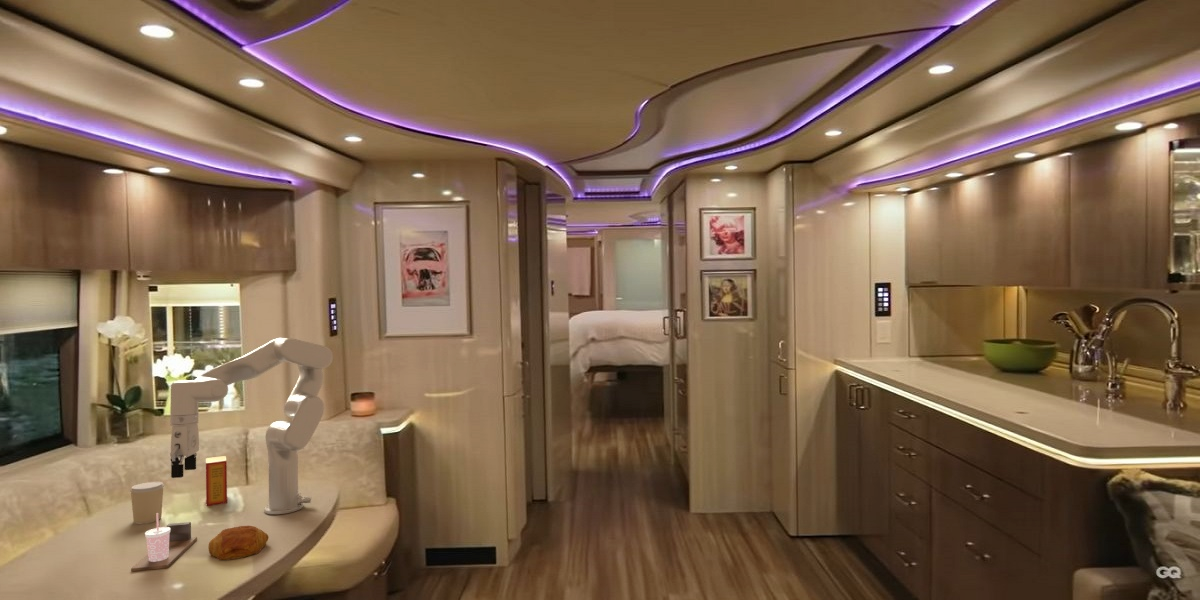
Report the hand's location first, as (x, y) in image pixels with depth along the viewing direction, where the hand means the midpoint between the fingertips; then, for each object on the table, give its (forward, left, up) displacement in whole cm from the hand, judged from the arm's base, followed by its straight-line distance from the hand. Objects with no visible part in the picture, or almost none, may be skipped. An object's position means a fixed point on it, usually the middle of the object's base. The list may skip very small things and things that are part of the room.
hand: (183, 473), depth 205 cm
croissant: (-20, +18, -21) cm, 34 cm away
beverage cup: (0, +20, -20) cm, 29 cm away
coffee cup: (+19, -21, -20) cm, 35 cm away
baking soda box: (+3, -38, -20) cm, 43 cm away
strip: (0, +15, -20) cm, 25 cm away
